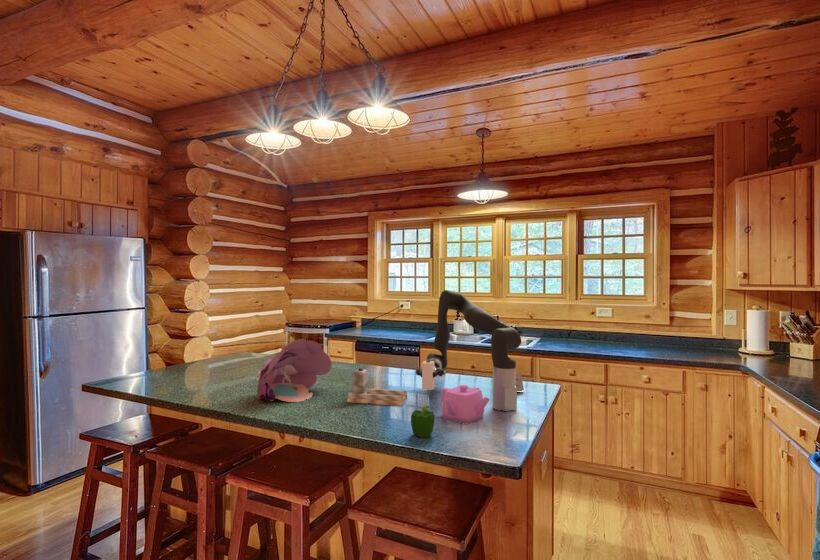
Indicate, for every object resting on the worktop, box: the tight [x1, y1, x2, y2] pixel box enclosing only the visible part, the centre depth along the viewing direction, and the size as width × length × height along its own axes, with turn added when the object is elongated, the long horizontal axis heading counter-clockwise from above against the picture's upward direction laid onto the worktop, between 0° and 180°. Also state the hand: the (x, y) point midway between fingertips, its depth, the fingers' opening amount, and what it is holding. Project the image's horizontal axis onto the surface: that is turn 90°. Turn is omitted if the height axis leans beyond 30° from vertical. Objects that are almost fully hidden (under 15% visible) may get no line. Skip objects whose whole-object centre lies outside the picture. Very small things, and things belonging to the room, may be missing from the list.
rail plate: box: [346, 367, 408, 407], centre depth 188 cm, size 24×12×14 cm, turn 80°
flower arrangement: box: [256, 338, 332, 403], centre depth 192 cm, size 35×24×28 cm
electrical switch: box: [516, 371, 525, 391], centre depth 205 cm, size 9×5×9 cm, turn 116°
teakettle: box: [440, 384, 490, 425], centre depth 166 cm, size 17×17×12 cm
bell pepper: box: [410, 404, 435, 438], centre depth 146 cm, size 8×8×10 cm
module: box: [421, 359, 435, 391], centre depth 184 cm, size 4×6×12 cm
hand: (427, 374), depth 181 cm, fingers closed on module, 4 cm apart
